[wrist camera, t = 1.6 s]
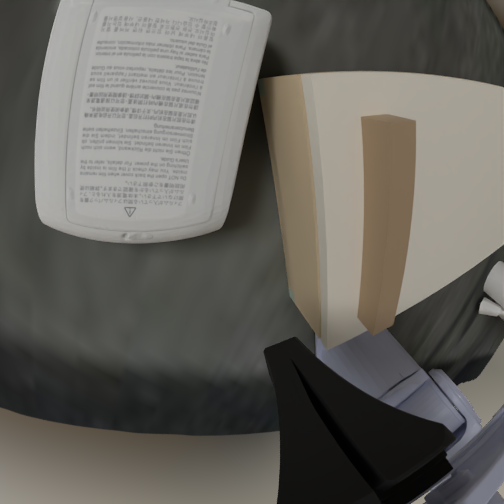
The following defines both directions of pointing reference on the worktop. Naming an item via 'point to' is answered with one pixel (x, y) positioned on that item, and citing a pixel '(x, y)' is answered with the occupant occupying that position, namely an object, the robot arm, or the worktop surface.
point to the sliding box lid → (400, 190)
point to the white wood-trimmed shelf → (502, 309)
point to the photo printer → (145, 116)
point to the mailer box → (295, 188)
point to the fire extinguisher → (494, 291)
